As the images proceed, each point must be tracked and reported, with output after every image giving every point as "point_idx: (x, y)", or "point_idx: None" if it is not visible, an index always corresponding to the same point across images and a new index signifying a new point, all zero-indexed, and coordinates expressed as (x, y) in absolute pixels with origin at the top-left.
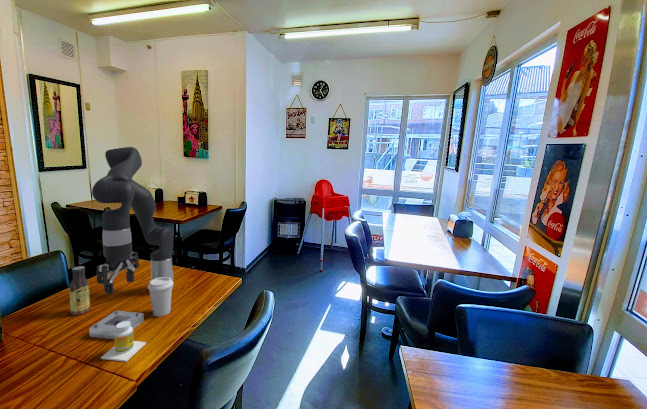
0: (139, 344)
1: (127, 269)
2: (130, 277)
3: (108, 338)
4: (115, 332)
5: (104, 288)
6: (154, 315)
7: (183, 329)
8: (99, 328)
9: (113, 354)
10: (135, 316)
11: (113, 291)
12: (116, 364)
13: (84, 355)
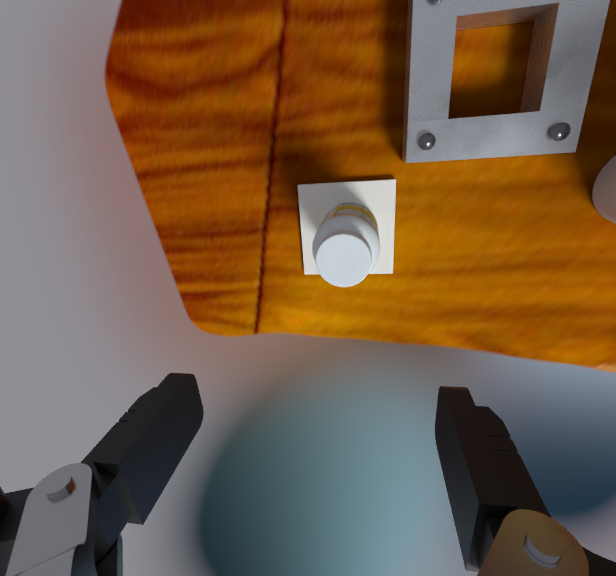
0: (378, 261)
1: (507, 568)
2: (447, 470)
3: (404, 102)
4: (321, 234)
5: (114, 426)
6: (601, 171)
7: (485, 344)
8: (418, 34)
9: (317, 215)
10: (541, 133)
11: (195, 431)
12: (290, 252)
13: (300, 105)
